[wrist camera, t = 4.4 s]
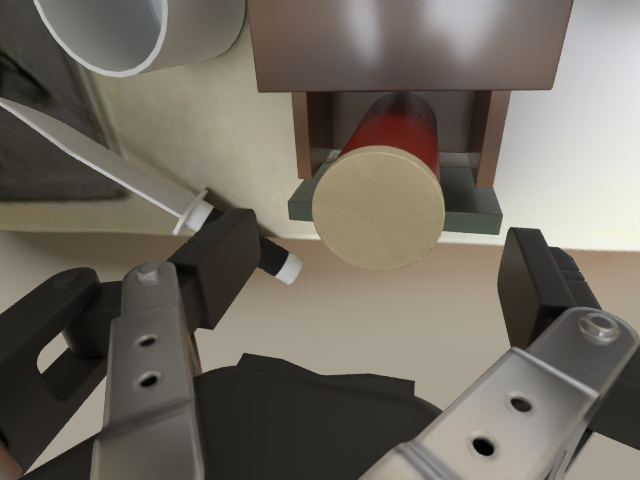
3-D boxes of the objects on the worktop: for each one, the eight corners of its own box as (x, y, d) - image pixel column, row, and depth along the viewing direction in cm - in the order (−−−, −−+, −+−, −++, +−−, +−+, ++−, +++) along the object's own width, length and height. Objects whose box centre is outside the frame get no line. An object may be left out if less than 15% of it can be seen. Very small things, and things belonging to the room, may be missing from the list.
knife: (307, 246, 34) (299, 281, 30) (292, 264, 35) (282, 300, 31) (14, 68, 28) (-48, 80, 24) (9, 96, 29) (-50, 113, 25)
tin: (345, 123, 24) (286, 200, 14) (409, 72, 22) (391, 122, 12) (389, 181, 26) (362, 289, 16) (454, 138, 23) (471, 234, 13)
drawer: (480, 202, 26) (494, 255, 20) (318, 193, 29) (290, 238, 23) (509, 41, 21) (538, 52, 15) (310, 48, 24) (272, 60, 18)
